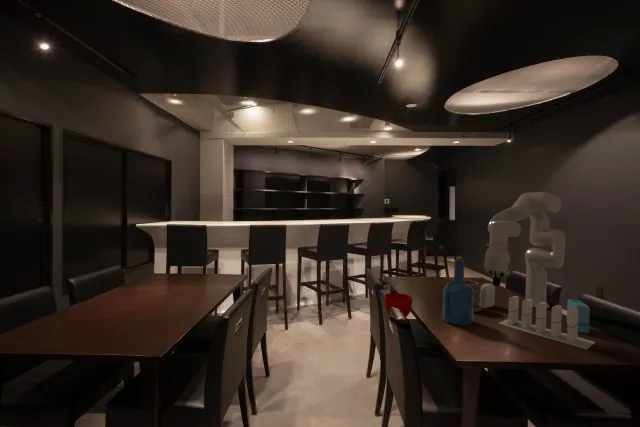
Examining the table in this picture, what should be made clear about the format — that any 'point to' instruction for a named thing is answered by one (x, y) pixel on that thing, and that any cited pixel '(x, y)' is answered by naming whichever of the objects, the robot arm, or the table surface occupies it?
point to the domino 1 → (513, 310)
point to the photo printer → (487, 296)
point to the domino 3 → (541, 317)
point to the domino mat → (547, 333)
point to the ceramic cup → (398, 302)
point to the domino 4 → (556, 321)
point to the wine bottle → (458, 298)
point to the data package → (580, 314)
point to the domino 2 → (526, 313)
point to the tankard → (476, 292)
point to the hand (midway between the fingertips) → (496, 285)
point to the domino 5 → (572, 325)
